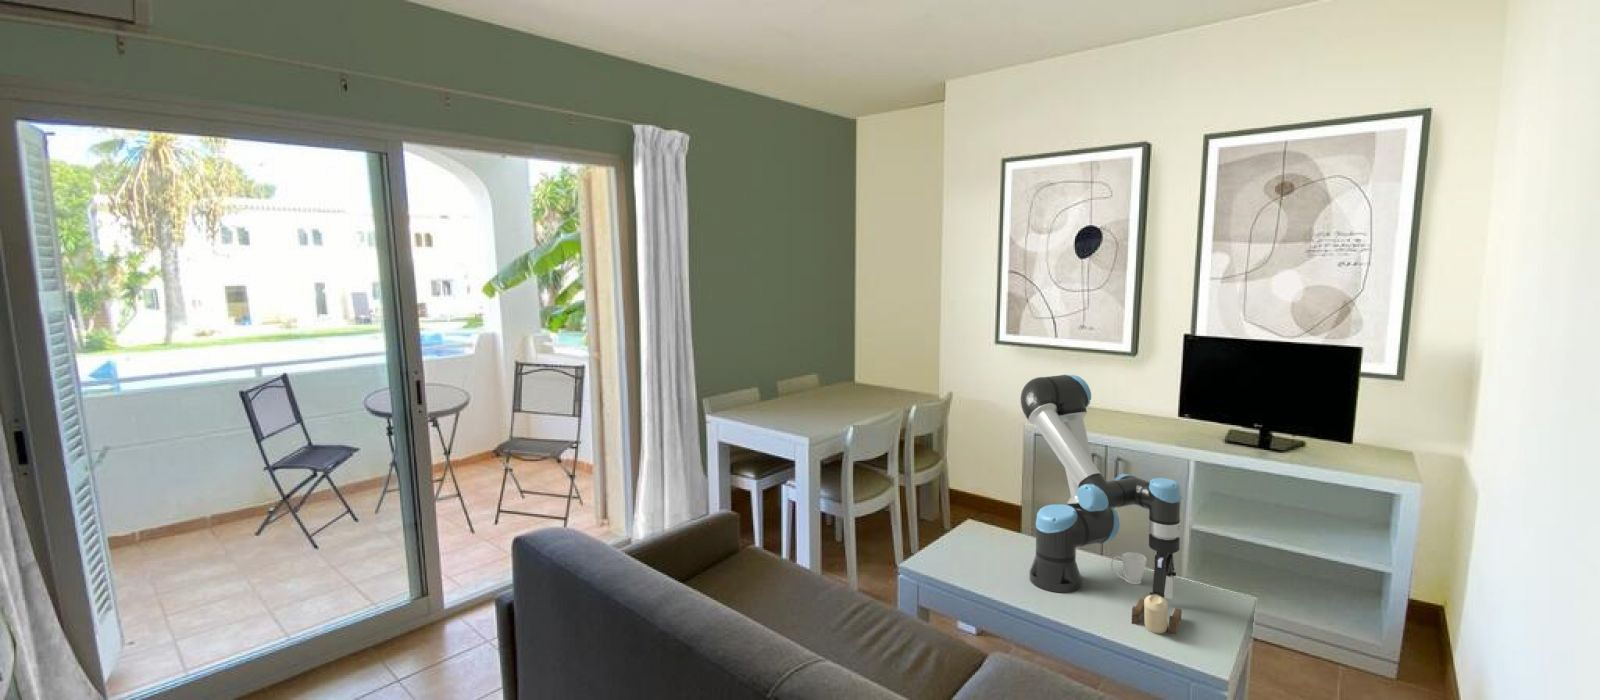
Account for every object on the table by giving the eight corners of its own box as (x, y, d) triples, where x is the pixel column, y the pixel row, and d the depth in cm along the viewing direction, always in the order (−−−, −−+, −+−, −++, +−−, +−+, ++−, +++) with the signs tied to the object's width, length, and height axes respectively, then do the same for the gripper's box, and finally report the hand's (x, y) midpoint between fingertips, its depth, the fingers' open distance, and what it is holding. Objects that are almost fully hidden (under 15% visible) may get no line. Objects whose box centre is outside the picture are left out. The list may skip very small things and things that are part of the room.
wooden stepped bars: (1131, 623, 183) (1132, 608, 183) (1139, 608, 191) (1140, 593, 191) (1174, 635, 177) (1175, 619, 177) (1181, 619, 185) (1181, 604, 184)
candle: (1170, 633, 177) (1170, 607, 173) (1147, 633, 179) (1147, 607, 174) (1164, 616, 182) (1164, 590, 178) (1142, 617, 183) (1141, 591, 179)
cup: (1144, 588, 203) (1145, 563, 202) (1108, 580, 208) (1109, 556, 208) (1147, 579, 209) (1148, 554, 208) (1112, 572, 214) (1113, 548, 213)
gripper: (1172, 554, 173) (1171, 631, 175) (1186, 522, 192) (1184, 592, 195) (1140, 548, 177) (1139, 623, 180) (1157, 518, 197) (1156, 586, 200)
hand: (1163, 607), depth 188 cm, fingers open, 13 cm apart
